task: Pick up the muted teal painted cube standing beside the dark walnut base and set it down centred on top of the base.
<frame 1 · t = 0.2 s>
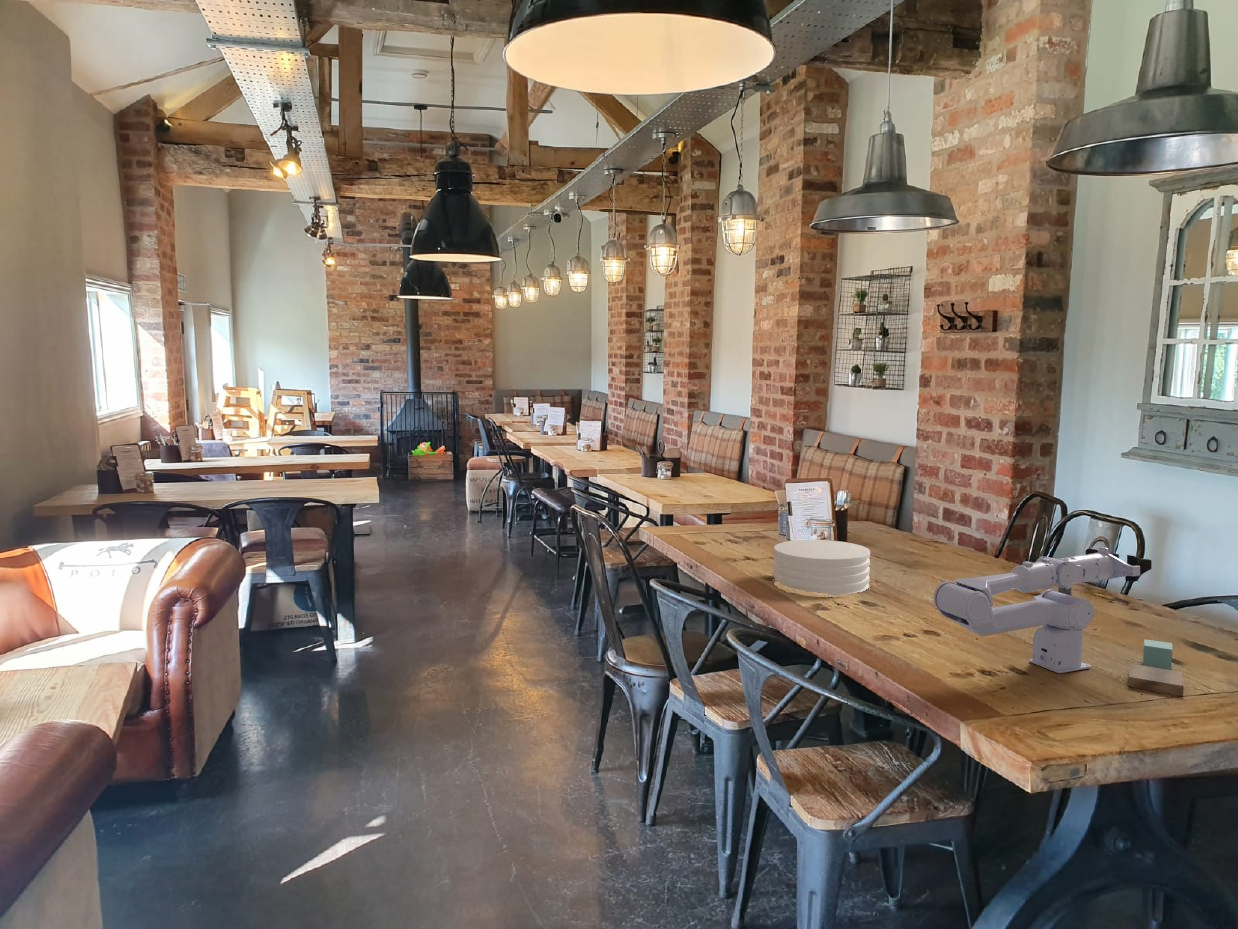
hand: (1133, 561, 179), 21 cm above the table, tool horizontal, fingers open, 7 cm apart
walnut base: (1155, 684, 164), on the table
salt shaker: (1063, 612, 215), on the table
plate stack: (820, 586, 244), on the table
teal cube: (1156, 667, 174), on the table
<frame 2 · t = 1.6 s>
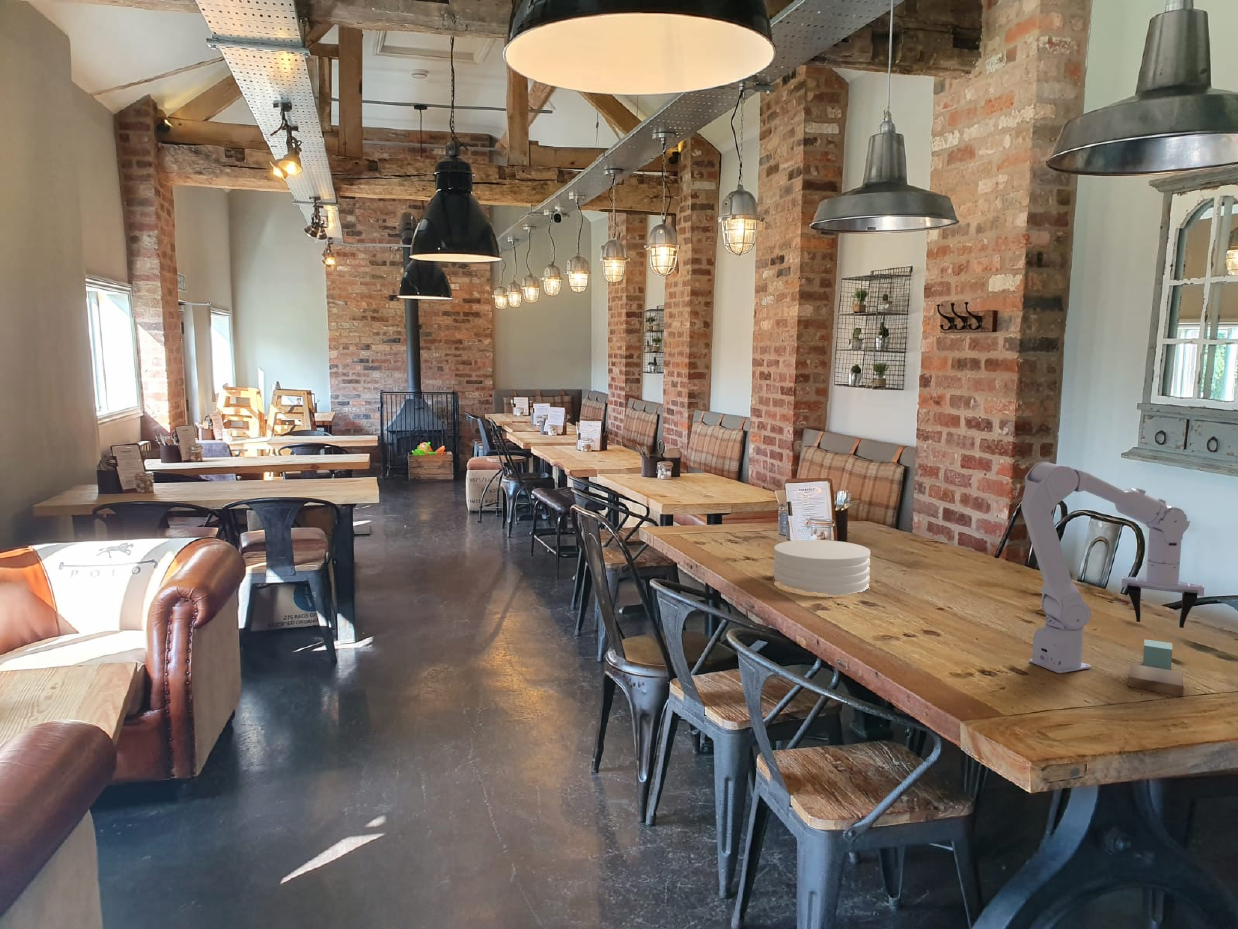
hand: (1159, 623, 173), 9 cm above the table, tool pointing down, fingers open, 7 cm apart
nothing on the table moved.
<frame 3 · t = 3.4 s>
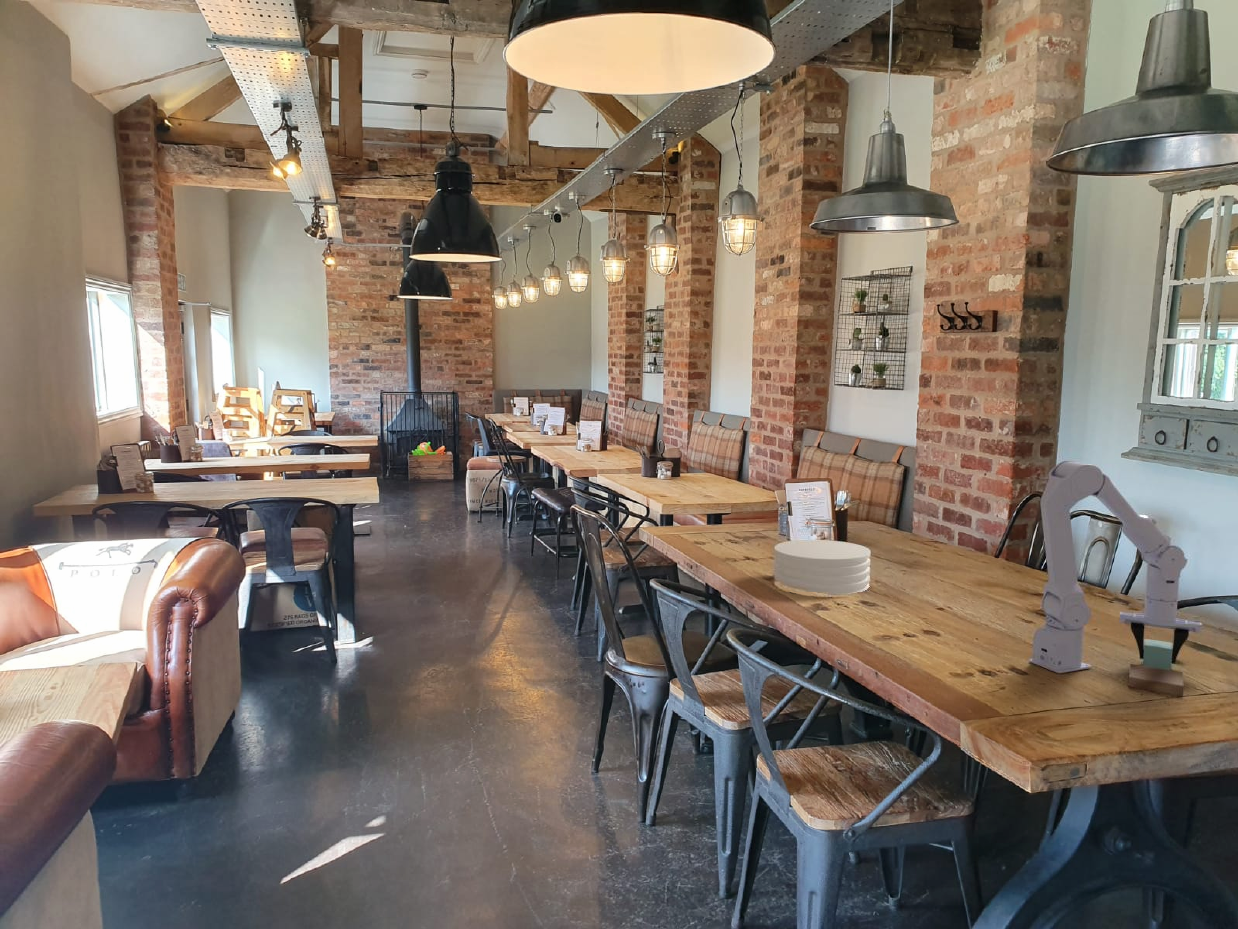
hand: (1157, 660, 174), 1 cm above the table, tool pointing down, fingers closed on teal cube, 5 cm apart
teal cube: (1156, 666, 174), on the table, touching gripper
everything else where it was.
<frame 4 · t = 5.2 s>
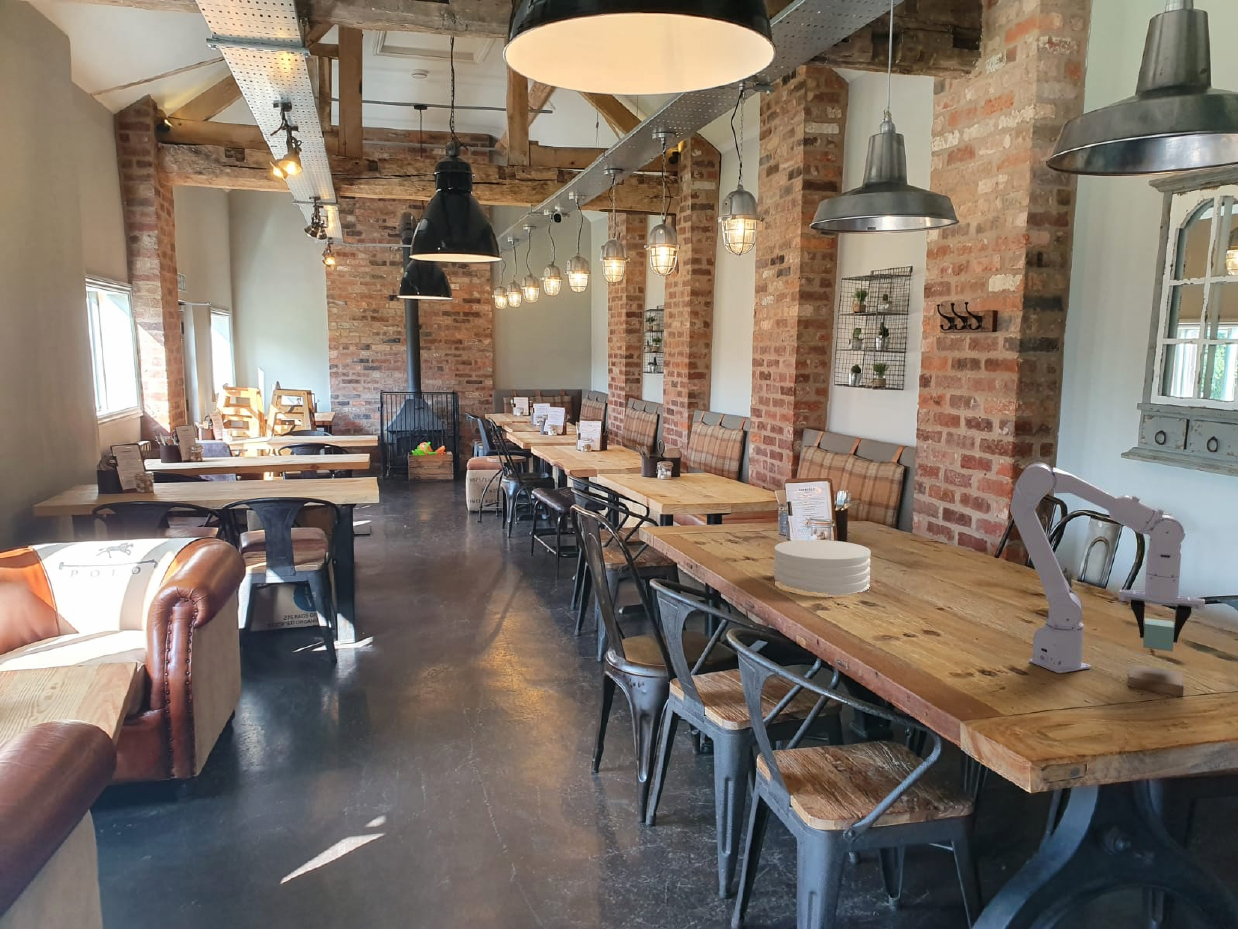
hand: (1158, 639, 166), 8 cm above the table, tool pointing down, fingers closed on teal cube, 5 cm apart
teal cube: (1157, 646, 167), point 7 cm above the table, touching gripper
everything else where it was.
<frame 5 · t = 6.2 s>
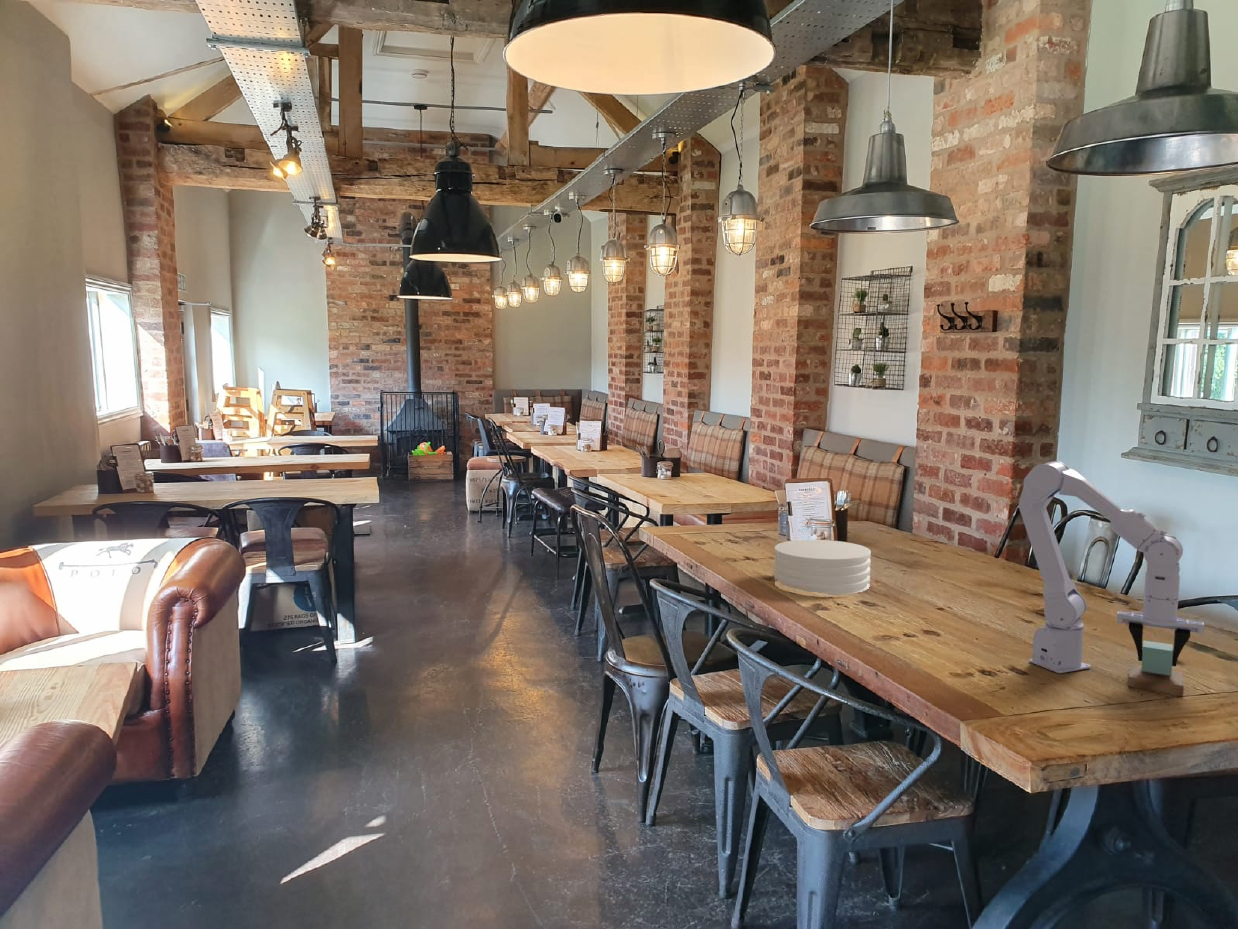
hand: (1156, 662, 164), 5 cm above the table, tool pointing down, fingers closed on teal cube, 5 cm apart
teal cube: (1156, 669, 164), point 3 cm above the table, touching gripper
everything else where it was.
when the fingers open (4 cm above the table, at t = 7.1 s): teal cube stays where it is, resting on walnut base.
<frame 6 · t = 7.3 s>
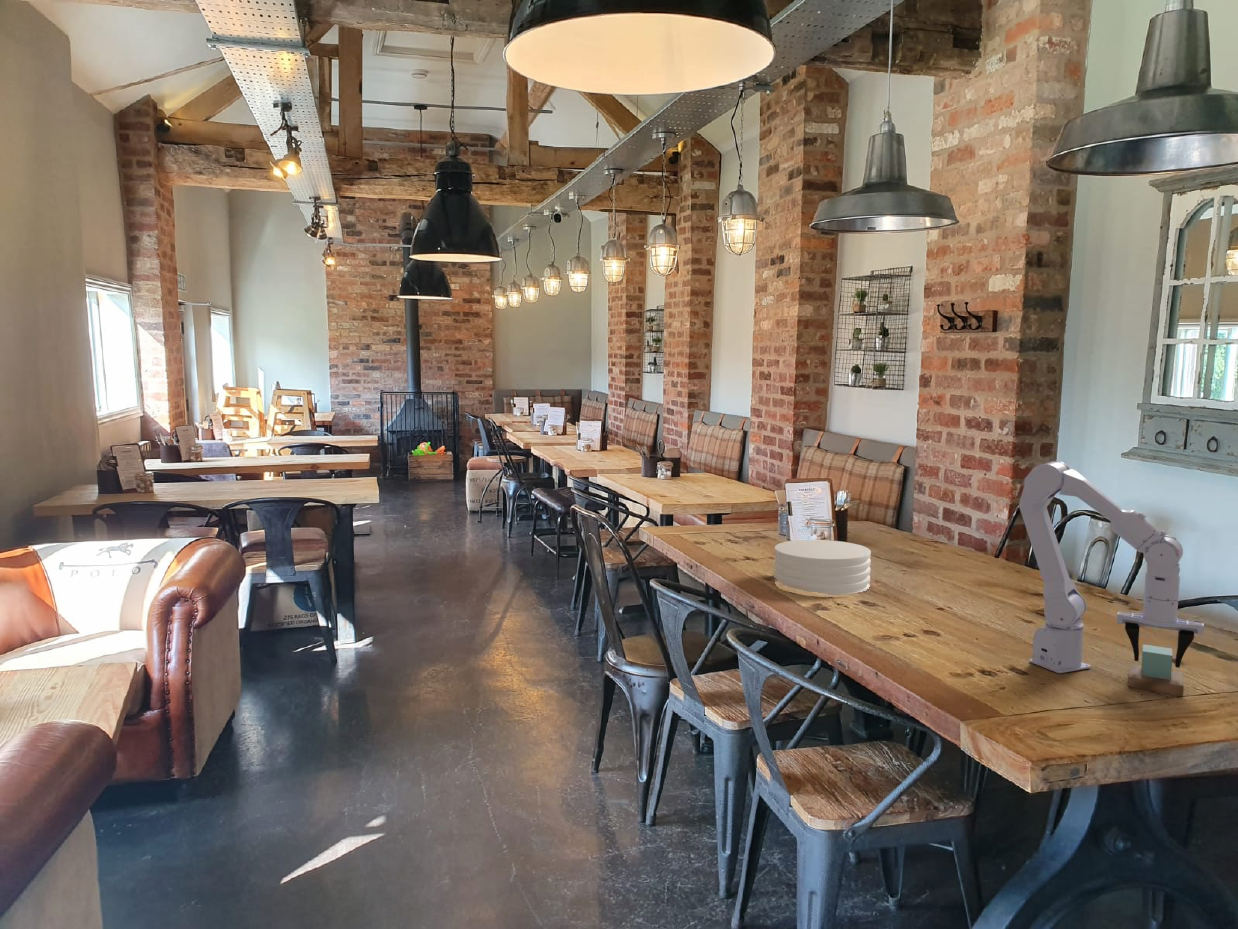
hand: (1156, 663, 164), 4 cm above the table, tool pointing down, fingers open, 6 cm apart
teal cube: (1155, 673, 164), point 2 cm above the table, touching walnut base
everything else where it was.
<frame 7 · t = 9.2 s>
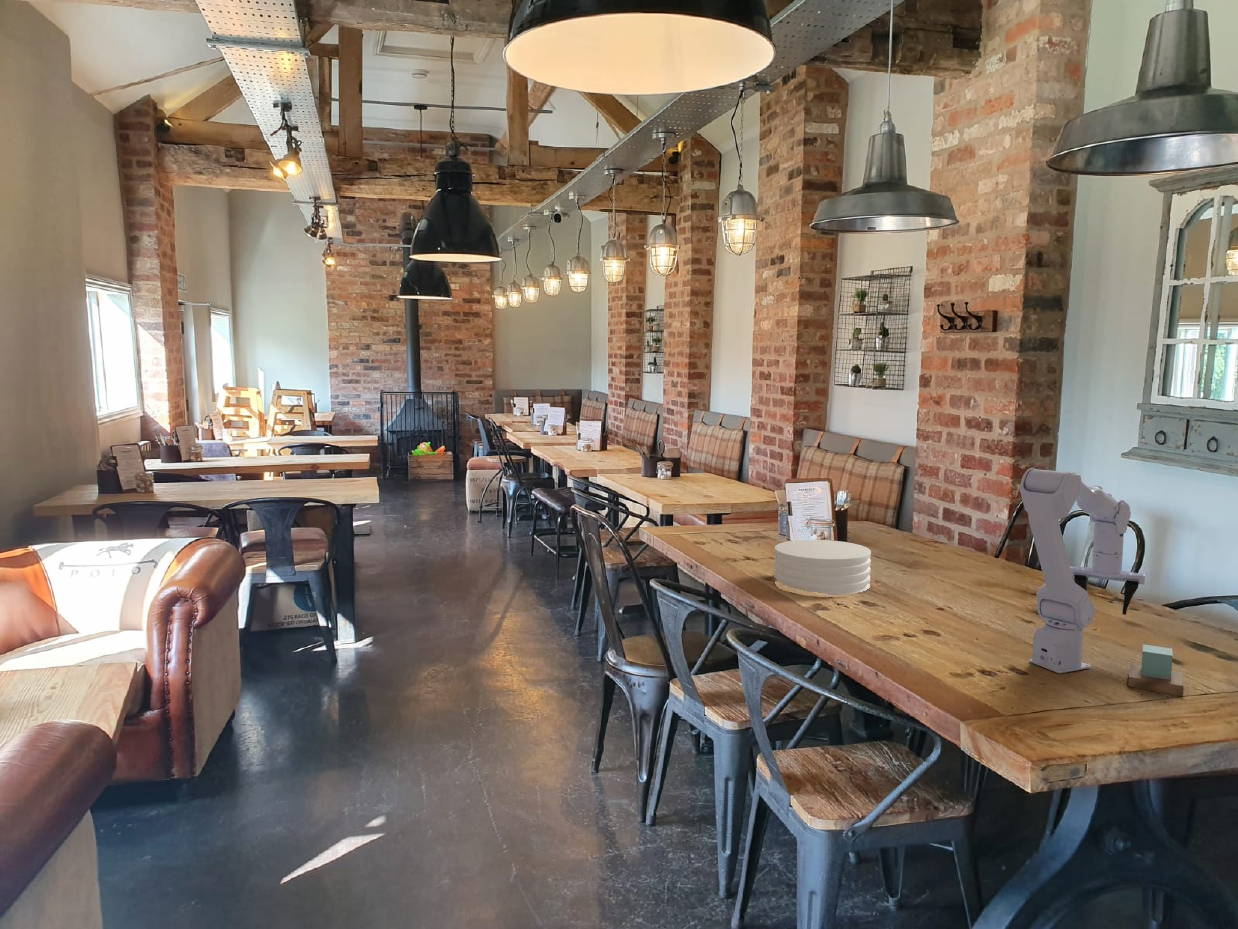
hand: (1104, 611, 183), 9 cm above the table, tool pointing down, fingers open, 7 cm apart
nothing on the table moved.
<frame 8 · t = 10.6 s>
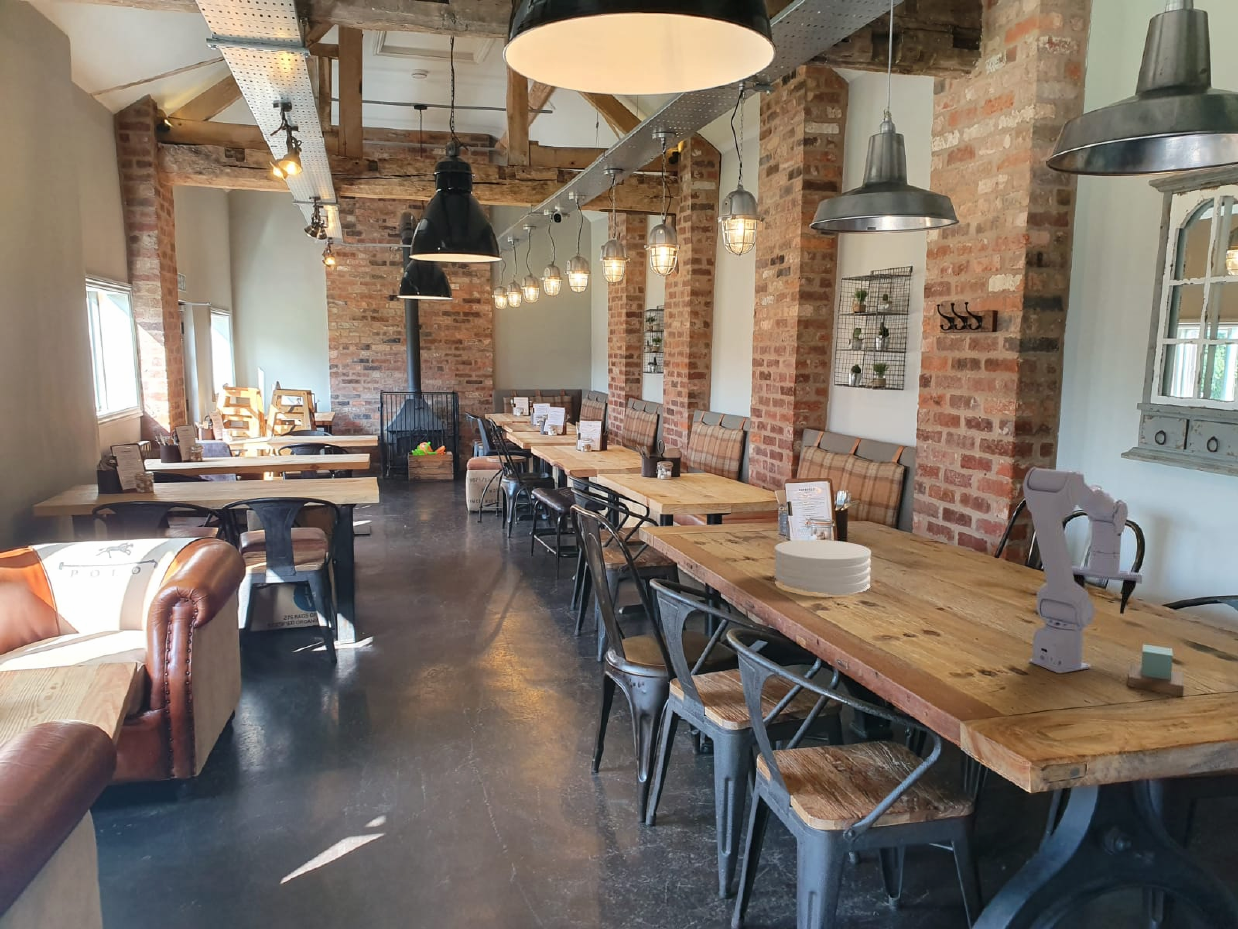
hand: (1101, 610, 184), 9 cm above the table, tool pointing down, fingers open, 7 cm apart
nothing on the table moved.
at the end: teal cube 0.4 cm off-centre on the walnut base, point 2.0 cm above the walnut base's base; teal cube tilted 0°; the gripper is holding nothing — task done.
